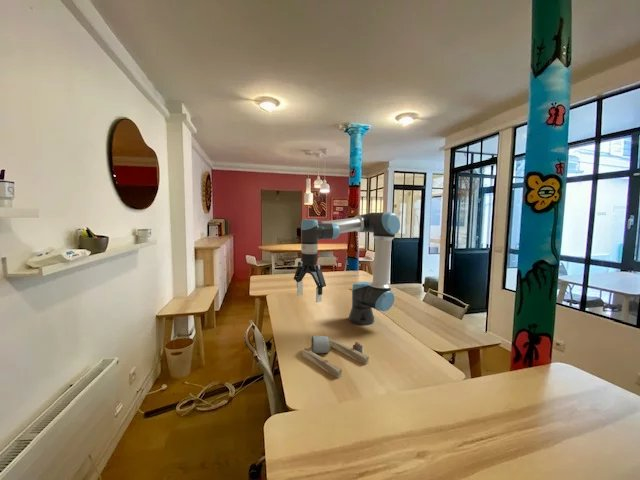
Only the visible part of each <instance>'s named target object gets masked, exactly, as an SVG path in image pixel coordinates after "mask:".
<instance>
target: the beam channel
mask: <svg viewBox="0 0 640 480" xmlns="http://www.w3.org/2000/svg"><path fill="white" fill-rule="evenodd" d="M330 348H333V349H335V350H337V351H338V352H340V353H342V354H344V355H346V356H348V357H349V358H352V359H354V360H355V361H357V362H359V363H361V364H363V365H365V366H366V365H367V364H369V360H370V359H369V357H370V356H368V355H366V354H365V353H363V345H361V342H360V341H355V343H354V344H353V345H352V347H350V346H348V345H346V344H344V343H342V342H340V341H338V340H336V339H333V338H330ZM301 357H303V358H305V359H306V360H308V361H310V362H311V363H313V364H314V365H316V366H317V367H319V368H321V369H323V371H325V372H327V373H328V374H331V375H332V376H333V377H335V378H336V379H340V378H342V375H343V369H342V368H340V367H339V366H337V365H336V364H334V363H332V362H330V361H329V360H328V359H325V358H324V357H321V355H318V353H317V354H315V353H313V352H312V350H310V349H308V348H306V347H305V348H302V349H301Z"/></svg>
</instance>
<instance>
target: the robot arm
mask: <svg viewBox="0 0 640 480" xmlns="http://www.w3.org/2000/svg"><path fill="white" fill-rule="evenodd" d="M400 229H401V222H400V218H399V217H398V215H397V214H395V213H394V212H388V211H386V212H369V213H368V212H367V213H363V214H359V215H358V214H357V215H355V216H354V217H350V218H340V219H332V220H324V221H318V219H316V218H315V219H314V218H312V219H311V218H310V219H308V218H305V219H302V220H301V225H300V238H301V240H300V244H301V245H300V247H301V248H300V250H301V254H300V261H298V262H297V267H296V270H295V273H294V275H293V280H294V281H295V282H296V289H297V291H296V296H298V297H299V296H303V289H304V288H303V287H304V286H303V284H304V283H303V279H304V277H305V276H306V274H308V275H310V276H311V277H312V279H313V281H314V282H315V285H316V288H315V303H320V302H322V298H323V297H322V295H323V288H325V287H327V284H326V280H325V277H324V273H323V270H322V265H321V264H317V262H318V240H319V241H320V240H336V239H337V238H338V237H339V236H340V234H344V233H351V232H356V233H362V232H363V233H370V234H371V233H372V236H373V238H374V239H375V245H374V256H373V257H374V259H373V273H372V282H370V281H358V282H354V283H353V284H352V289H351V295H352V296H351V310H350V313H349V316H348V321H349V322H350V323H352V324H355V325H362V326H365V325H368V326H369V325H372V324H374V322H375V316H374V312H373V309H375V310H376V311H378V312H379V311H380V312H383V313H384V312H387V311H389V310H390V309H391V308H392V307H393V305H394V304H395V300H396V296H395V294H394V293H393V291H392V290H391V289H392V286H391V285H390V284H389V279H390V268H391V267H390V265H391V252H392V241H393V240H394V239H395V238H396V237H395V236H396V235H397V234H398V233H399V231H400Z"/></svg>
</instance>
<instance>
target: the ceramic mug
mask: <svg viewBox="0 0 640 480" xmlns="http://www.w3.org/2000/svg"><path fill="white" fill-rule="evenodd" d="M330 339H331V338H330V337H329V336H327V335H312V336H311V341H310V342H311V345H310V346H311V351H312V352H313V353H315V354H317V355H318V354H328V353H330V351H331V347H330Z"/></svg>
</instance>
